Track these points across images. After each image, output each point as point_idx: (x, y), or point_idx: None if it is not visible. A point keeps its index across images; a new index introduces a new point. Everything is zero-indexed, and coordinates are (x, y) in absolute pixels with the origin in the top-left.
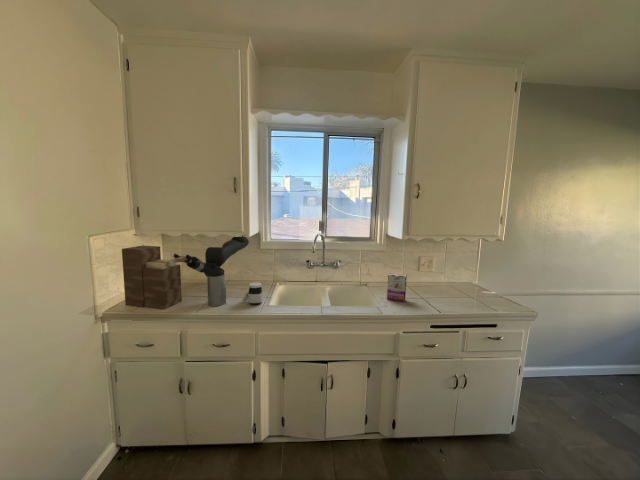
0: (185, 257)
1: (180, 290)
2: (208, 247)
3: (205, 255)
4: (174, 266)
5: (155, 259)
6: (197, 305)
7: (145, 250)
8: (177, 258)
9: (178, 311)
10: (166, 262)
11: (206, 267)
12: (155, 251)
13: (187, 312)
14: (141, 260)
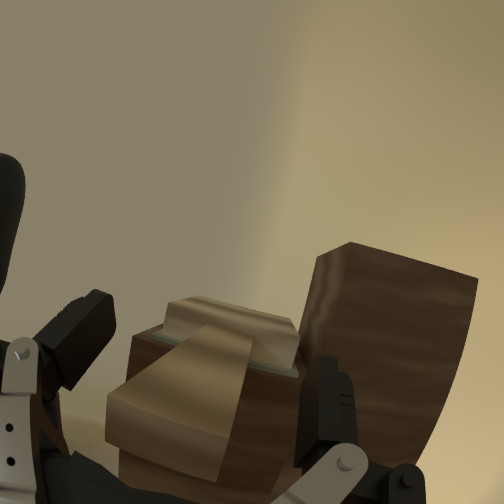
0: (130, 380)
1: (121, 476)
2: (15, 159)
3: (23, 204)
4: (156, 327)
5: (316, 333)
6: None
7: (321, 261)
8: (217, 365)
9: (102, 435)
10: (196, 300)
11: (8, 263)
12: (331, 276)
13: (73, 419)
14: (305, 307)
